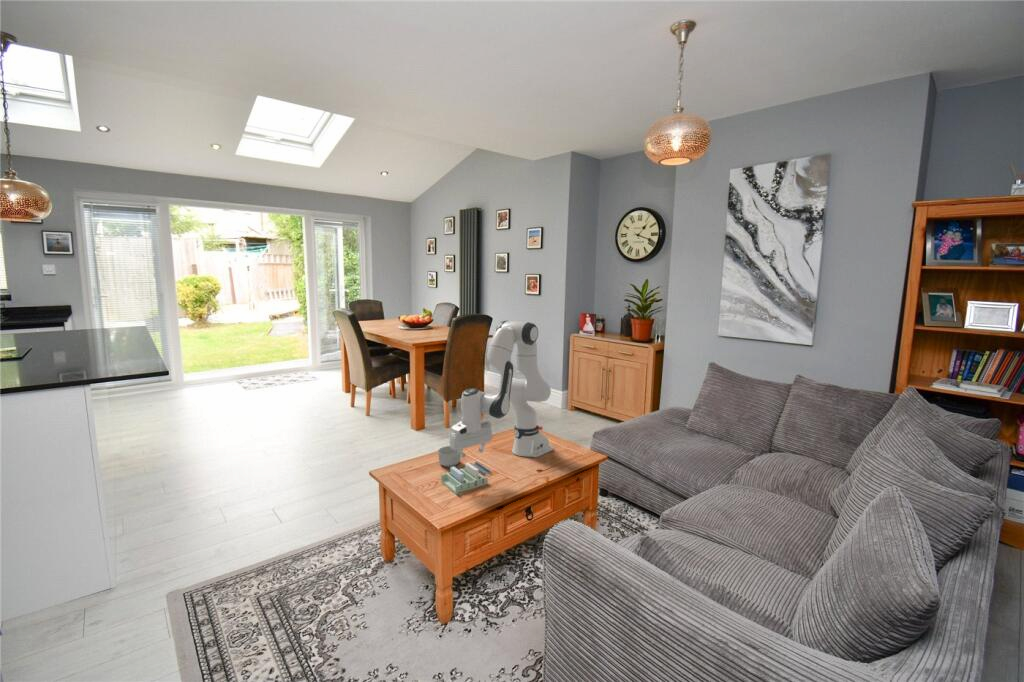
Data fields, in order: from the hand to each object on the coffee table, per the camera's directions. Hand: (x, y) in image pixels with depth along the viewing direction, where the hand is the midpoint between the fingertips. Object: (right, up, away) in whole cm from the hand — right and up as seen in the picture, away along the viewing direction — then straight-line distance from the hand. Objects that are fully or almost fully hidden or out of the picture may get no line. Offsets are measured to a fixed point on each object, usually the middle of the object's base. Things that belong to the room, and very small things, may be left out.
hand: (471, 454), depth 204 cm
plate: (0, -11, +1) cm, 11 cm away
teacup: (-13, -10, +21) cm, 26 cm away
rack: (-3, -13, -1) cm, 13 cm away
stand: (+3, -11, +13) cm, 17 cm away
